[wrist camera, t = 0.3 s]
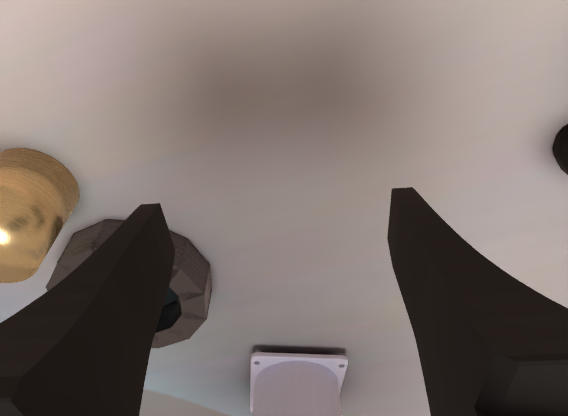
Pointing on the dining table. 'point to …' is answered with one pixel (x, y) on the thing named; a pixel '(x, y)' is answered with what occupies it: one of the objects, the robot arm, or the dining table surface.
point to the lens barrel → (182, 290)
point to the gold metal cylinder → (31, 209)
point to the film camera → (562, 149)
